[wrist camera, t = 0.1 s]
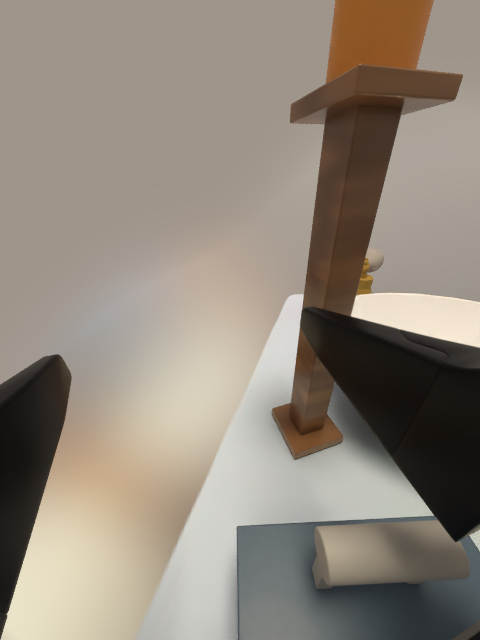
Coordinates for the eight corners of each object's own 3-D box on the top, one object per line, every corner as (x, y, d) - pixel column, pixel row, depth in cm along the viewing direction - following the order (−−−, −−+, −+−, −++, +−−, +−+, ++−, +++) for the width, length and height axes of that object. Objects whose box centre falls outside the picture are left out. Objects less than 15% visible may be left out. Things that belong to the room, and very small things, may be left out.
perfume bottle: (327, 339, 36) (342, 263, 30) (322, 309, 44) (333, 244, 38) (380, 344, 34) (408, 265, 28) (365, 312, 42) (384, 245, 36)
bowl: (612, 536, 16) (772, 461, 11) (333, 467, 20) (359, 391, 15) (468, 363, 30) (509, 298, 25) (325, 345, 35) (337, 286, 30)
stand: (341, 442, 22) (465, 73, 9) (294, 459, 21) (360, 62, 8) (312, 402, 26) (369, 107, 13) (271, 414, 25) (290, 103, 12)
